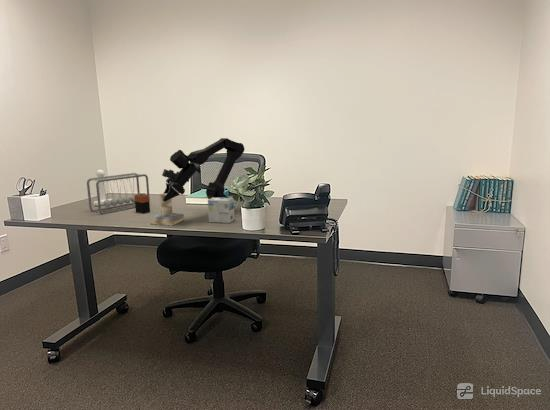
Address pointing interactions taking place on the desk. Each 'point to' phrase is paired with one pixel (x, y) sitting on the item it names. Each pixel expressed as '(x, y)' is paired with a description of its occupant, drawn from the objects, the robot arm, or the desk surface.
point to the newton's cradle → (119, 200)
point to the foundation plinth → (167, 219)
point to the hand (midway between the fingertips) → (162, 199)
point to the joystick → (101, 189)
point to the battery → (142, 203)
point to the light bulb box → (221, 210)
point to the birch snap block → (165, 206)
